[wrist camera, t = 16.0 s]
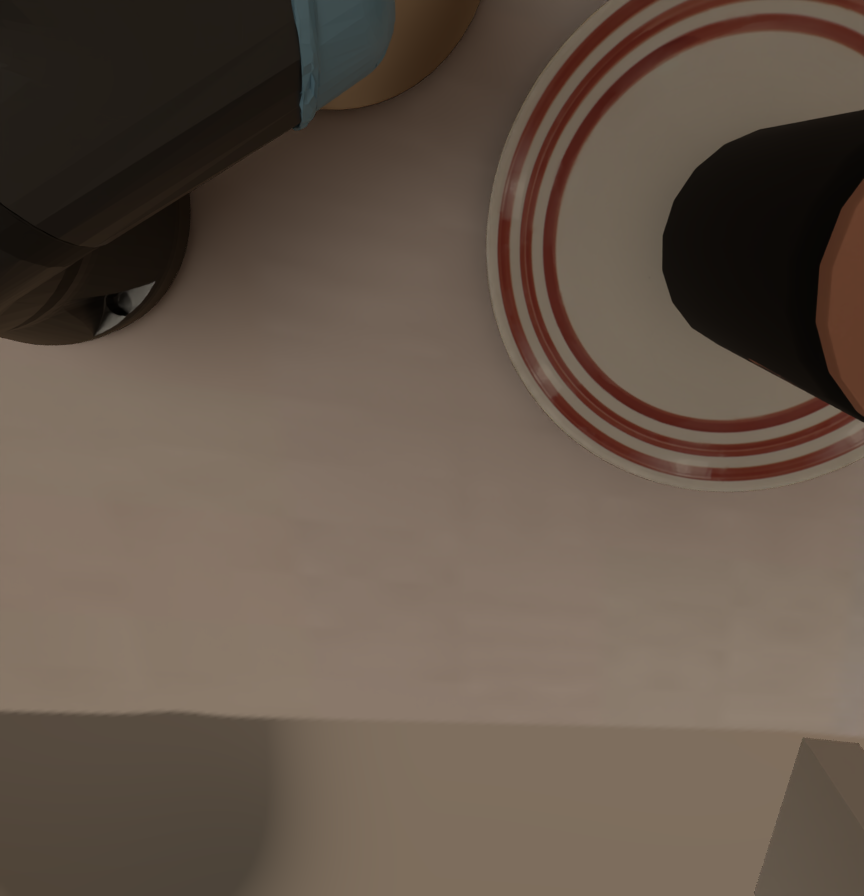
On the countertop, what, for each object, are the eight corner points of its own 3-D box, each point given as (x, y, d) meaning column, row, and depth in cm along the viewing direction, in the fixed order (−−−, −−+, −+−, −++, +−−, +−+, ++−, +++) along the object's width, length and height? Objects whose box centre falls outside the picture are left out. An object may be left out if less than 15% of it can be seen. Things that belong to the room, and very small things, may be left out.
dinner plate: (554, 527, 48) (562, 551, 45) (419, 57, 40) (417, 45, 36) (1014, 400, 45) (1058, 416, 42) (971, -136, 37) (1021, -166, 34)
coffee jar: (669, 368, 41) (840, 495, 24) (638, 159, 38) (810, 133, 21) (874, 320, 40) (1202, 416, 23) (860, 102, 37) (1230, 26, 20)
